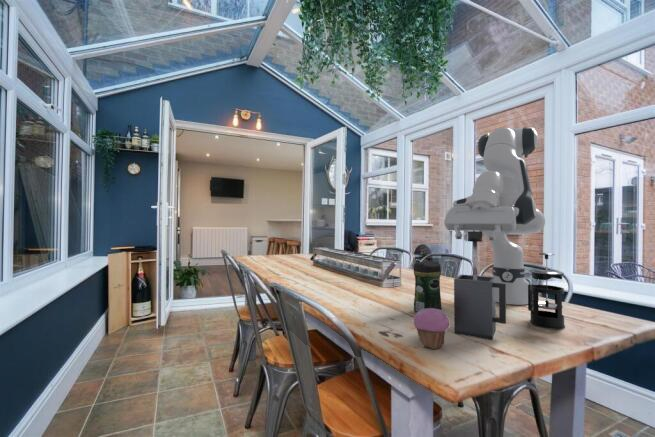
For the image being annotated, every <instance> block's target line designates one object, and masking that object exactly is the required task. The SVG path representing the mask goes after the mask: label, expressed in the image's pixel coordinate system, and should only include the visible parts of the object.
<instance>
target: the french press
mask: <svg viewBox="0 0 655 437" xmlns="http://www.w3.org/2000/svg"><path fill="white" fill-rule="evenodd" d="M538 255H543V256H544V260H545V269H537V270H536V269H534V270H533V269H532V270H530V273H531V278H532V279H535V280H539V281H540V280H541V281H545V284H530V283H529V285H528V304H527V309H528V311H529V312H530V320H529V323H530V324H531V325H533V326H535V327H539V328H542V329H543V328H544V329H550V330H562V329H563V330H564V329H566V325H565V315H563V307H564V305H563V294H565V288H564V287H561V286H557V285H556V286H555V285H548V280H551V279H559V280H563V275H565V273H564V272H562V271H556V270H550V269H548V260H549V256H555V254H554V253H551V252H539V253H538ZM539 294H544V295H545V301H539V299H540V298H539ZM549 295H554V302H549V300H548V298H549V297H548V296H549ZM540 309H543V310H540ZM548 310H554V311H548Z"/></svg>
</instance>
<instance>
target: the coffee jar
mask: <svg viewBox="0 0 655 437" xmlns="http://www.w3.org/2000/svg"><path fill="white" fill-rule="evenodd" d="M413 275H414V280H415V282H414V284H415V286H414V298H413V310H414V312H416V313H417V312H418V311H420V310H421V309H426V308H435V309H440V310H442V308H443V306H442V299H441V298H442V297H441V287H440V286H441V285H440V280H441V275H442V269H441V264H440V262H439V261H432V260H425V261H417V262H414V264H413ZM442 311H443V310H442Z"/></svg>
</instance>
